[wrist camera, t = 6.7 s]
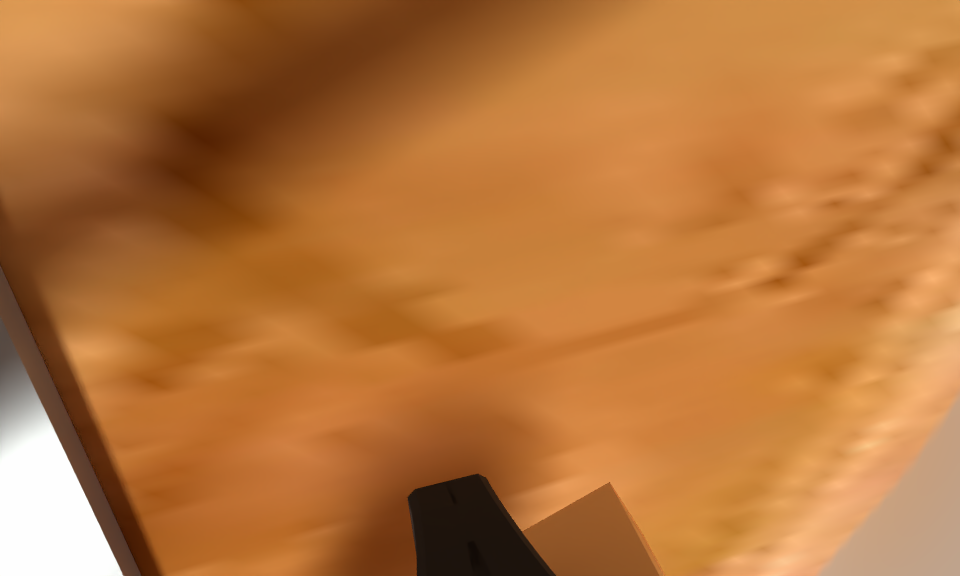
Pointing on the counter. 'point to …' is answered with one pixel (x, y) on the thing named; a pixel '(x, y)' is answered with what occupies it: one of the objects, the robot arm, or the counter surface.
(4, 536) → the socket block
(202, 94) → the counter surface
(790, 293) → the counter surface
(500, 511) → the robot arm
